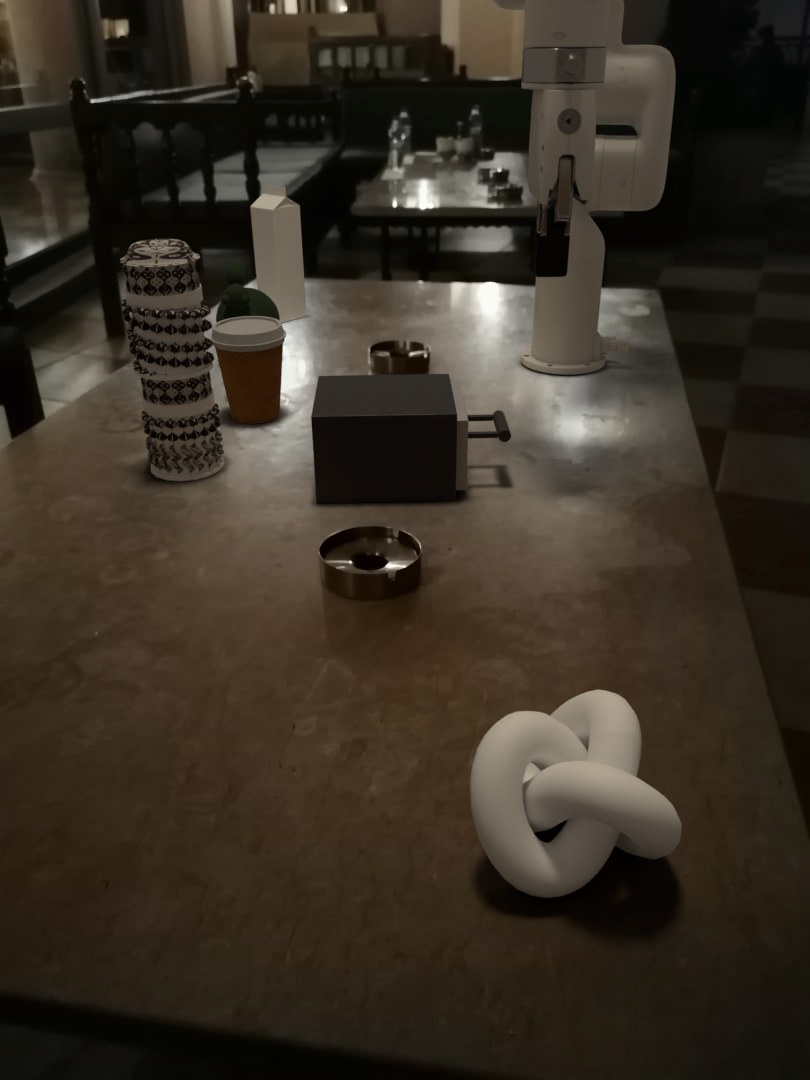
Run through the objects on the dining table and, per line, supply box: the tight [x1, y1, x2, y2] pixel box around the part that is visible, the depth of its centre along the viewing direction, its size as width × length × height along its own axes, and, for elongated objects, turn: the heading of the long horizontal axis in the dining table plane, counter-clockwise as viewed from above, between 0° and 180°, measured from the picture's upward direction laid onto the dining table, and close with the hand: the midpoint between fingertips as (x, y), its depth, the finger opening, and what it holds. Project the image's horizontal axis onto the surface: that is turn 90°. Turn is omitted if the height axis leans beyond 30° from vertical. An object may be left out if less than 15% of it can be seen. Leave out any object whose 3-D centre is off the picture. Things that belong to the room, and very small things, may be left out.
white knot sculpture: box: [469, 688, 682, 899], centre depth 53 cm, size 11×12×9 cm
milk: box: [249, 184, 307, 324], centre depth 157 cm, size 6×6×22 cm
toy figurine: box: [215, 259, 280, 323], centre depth 131 cm, size 9×19×25 cm
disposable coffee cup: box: [209, 316, 287, 425], centre depth 116 cm, size 10×10×12 cm
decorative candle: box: [119, 238, 225, 482], centre depth 99 cm, size 9×9×25 cm
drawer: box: [451, 382, 512, 491], centre depth 100 cm, size 18×12×8 cm, turn 91°
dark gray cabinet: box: [310, 373, 457, 504], centre depth 99 cm, size 15×13×10 cm
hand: (549, 274), depth 91 cm, fingers closed
